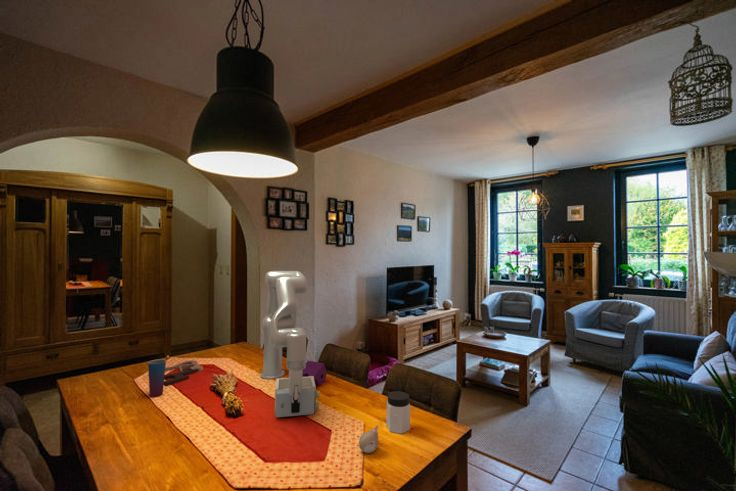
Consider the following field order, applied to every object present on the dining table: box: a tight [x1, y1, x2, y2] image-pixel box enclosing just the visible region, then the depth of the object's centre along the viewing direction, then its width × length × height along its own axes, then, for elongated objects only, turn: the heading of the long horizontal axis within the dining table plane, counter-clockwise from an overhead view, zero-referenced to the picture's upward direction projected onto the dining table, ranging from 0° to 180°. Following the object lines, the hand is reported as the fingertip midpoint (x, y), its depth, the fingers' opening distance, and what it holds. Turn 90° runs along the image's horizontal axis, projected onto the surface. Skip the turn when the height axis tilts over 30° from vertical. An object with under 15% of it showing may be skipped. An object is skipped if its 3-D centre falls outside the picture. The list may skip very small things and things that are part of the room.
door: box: [275, 388, 315, 418], centre depth 134 cm, size 4×15×9 cm, turn 103°
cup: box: [147, 358, 167, 398], centre depth 152 cm, size 7×7×15 cm
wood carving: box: [163, 360, 204, 387], centre depth 180 cm, size 28×2×24 cm
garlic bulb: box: [358, 424, 379, 454], centre depth 111 cm, size 7×6×8 cm
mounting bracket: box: [302, 360, 327, 386], centre depth 165 cm, size 10×9×19 cm
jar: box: [386, 390, 411, 435], centre depth 126 cm, size 9×8×12 cm
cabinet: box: [274, 376, 321, 416], centre depth 142 cm, size 14×18×10 cm
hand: (295, 409), depth 134 cm, fingers closed on door, 3 cm apart
